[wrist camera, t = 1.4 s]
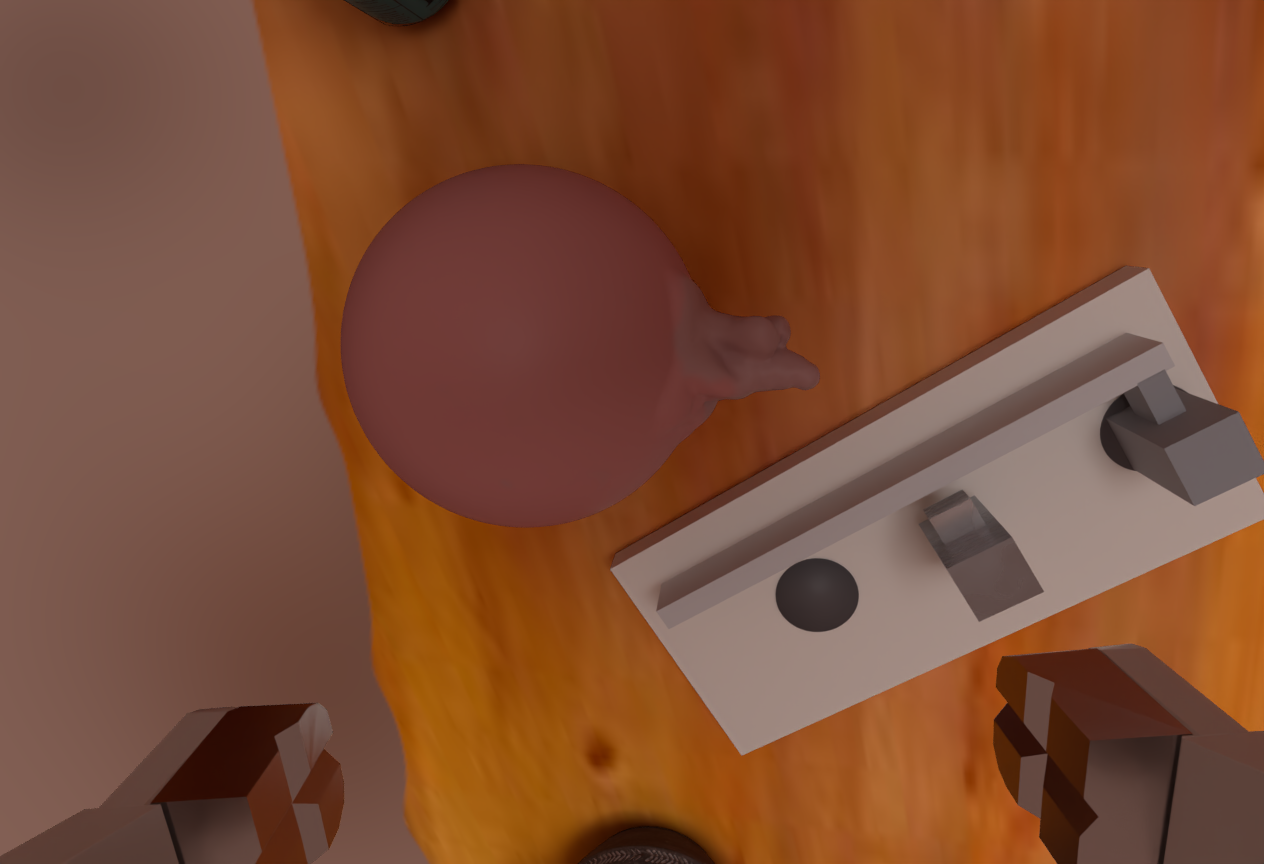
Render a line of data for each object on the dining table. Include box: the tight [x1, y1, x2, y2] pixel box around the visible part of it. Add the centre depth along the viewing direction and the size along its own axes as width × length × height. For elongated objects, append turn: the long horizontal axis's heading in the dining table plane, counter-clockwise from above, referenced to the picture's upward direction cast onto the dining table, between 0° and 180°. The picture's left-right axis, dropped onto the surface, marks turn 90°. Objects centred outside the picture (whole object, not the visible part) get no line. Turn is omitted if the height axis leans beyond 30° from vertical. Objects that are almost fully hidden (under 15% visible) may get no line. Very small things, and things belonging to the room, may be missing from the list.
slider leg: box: [919, 489, 1044, 622], centre depth 34 cm, size 3×4×5 cm, turn 33°
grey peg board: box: [610, 266, 1264, 755], centre depth 37 cm, size 30×14×7 cm, turn 123°
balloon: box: [341, 164, 820, 527], centre depth 32 cm, size 15×20×15 cm
